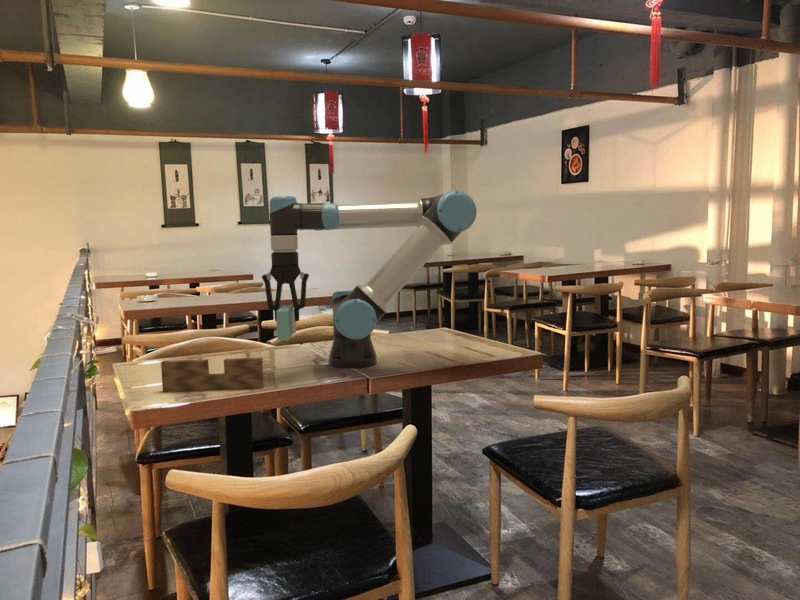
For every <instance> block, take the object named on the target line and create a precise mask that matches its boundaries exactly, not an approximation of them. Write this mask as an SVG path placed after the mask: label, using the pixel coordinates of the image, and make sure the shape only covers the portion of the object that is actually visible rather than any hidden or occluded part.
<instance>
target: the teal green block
mask: <svg viewBox="0 0 800 600" xmlns="http://www.w3.org/2000/svg"><path fill="white" fill-rule="evenodd" d="M292 310H294V306H293V304H290V305H289V304H288V305H287V304H286V305H285V304H284V305H281V306H280V308H279V309H278V310H277V311H276V318H277V322H276V335H277V336H276V337H277V338H276V339H277V341H278V342H280V341H284V342H285V341H289V340H290V339H291V338H292V336H293V335H294V333H292Z"/></svg>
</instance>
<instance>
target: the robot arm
mask: <svg viewBox="0 0 800 600" xmlns="http://www.w3.org/2000/svg"><path fill="white" fill-rule="evenodd" d="M268 215H269V229H270V231H269V232H270V250H271V251H273V252H271V256H270V257H271V269H270V270H269V272H267V273H265V274H262V276H261V279H262V281H263V283H264V287H265V296H266V304H267V308H268V310H270V309H271V310H273V311H274V320H275V321H274V322H276V323H277V318H276V311H277V310H278V309H279V308H280V307H281V302H282V301H281V298H282V293H283V292H282V290H283V286H284V284H287V285H289V289H290V295H291V300H292V305H293V310H292V333H293V334H296V332H297V326H296V325H297V323H296V322H299V320H300V310H301V309H304V308H305V306H306V299H307V282H308V279H309V277H310V273H306V272H304V271H301V269H300V267H299V252H297V250H298V249H299V244H298V241H299V240H298V239H299V238H298V230H299V231H305V230H306V231H309V230H310V231H323V230H324V231H331V230H347V229H349V230H353V229H354V230H355V229H374V228H375V229H377V228H379V229H380V228H383V229H384V228H407V227H411V228H412V227H416V230H414V232H413V233H411V235H410V236H409V237H408V238H407V239H406V240H405V242H403V244H402V245H401V246H400V247H398V249H397V250H396V251H395V252H394V253H393V254H392V255H391V256H390V257H389V259H387V261H386V262H385V263H384V264H383V265H382V266H381V267H380V268H379V269H378V270H377V271H376V272H375V274H374V275H373V276H372V277H371V278H370V279H369V280H368V281H366V283H364V284H357V285H356V286H355V288H353V289H352V290H339V291H335V292H333V293H332V295H331V297H332V298H331V304H332V323H333V324H332V327H333V341H332V344H331V348H330V352H329V355H328V365H329V366H330V367H335V368H341V369H342V368H343V369H357V368H365V367H372V366H373V365H375V364H377V362H378V360H377V359H378V358H377V353H376V349H375V347H374V345H373V341H372V338H371V337H372V336H371V335H372V332H373V331H374V329H375V328H376V326H377V324H378V322H379V321H380V320H381V319H382V318H383V317H384V316H385V314H387V312H388V310H387V308H388V307H387V306H388V304H389V303H390V302H391V301H392V300H393V298H394V297H396V295H397V294H398V293H399V292H400V291H401V290H402V289H403V288H404V287H405V286H406V285H407V283H409V281H411V279H412V278H413V277H414V276H415V275H416V274H417V273H418V271H420V270H421V269H422V267H423V266H424V265H425V264H426V263H427V262H428V261H429V260H430V259H431V258H432V257H433V256H434V255H435V254H436V253H437V251H438V250H439V249H440V248H441V247H442V246H444V245H451V244H452V243H453V242H454V241H455V240H456V239H457V238H458V237H459V235H461V234H462V233H463V232H465V231H466V230H469V229H470V228H471V227H472V225H473V224H474V222H475V221H476V218H477V206H476V203H475V201H474V199H473V197H471V196H470V195H469V194H467V193H466V192H464V191H461V190H449V191H447V192H445V193H441V194H439V195H436V196H432V197H426V198H425V197H423V198H417V199H416V201H407V202H406V201H404V202H400V201H399V202H376V203H373V202H372V203H348V204H346V203H345V204H344V203H343V204H337V203H332V202H312V203H310V202H309V203H299V202H298V201H297V198H296V197H295V196H292V195H287V196H286V195H279V196H272V197H271V198H270V199H269V214H268ZM299 276H300V277H299ZM298 277H299V278H300V280H301V284H300V285H301V287H300V304H299V301H298V294H297V289H296V283H295V281H296V280H297V279H298ZM272 278H273V279H274V280H275V282H276V291H275V292H276V293H275V298H274V300H275V301H274V302H273V294H272V286H271V280H272Z"/></svg>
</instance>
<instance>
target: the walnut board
mask: <svg viewBox="0 0 800 600" xmlns="http://www.w3.org/2000/svg"><path fill="white" fill-rule="evenodd" d="M209 367H210V366H209V358H207V359H205V358H203V359H181V360H178V359H176V360H161V362H160V368H161V382H162V384H161V385H162V386H161V387H162V393H174V392H176V393H177V392H179V393H180V392H202V391H223V390H224V391H226V390H228V391H229V390H249V389H250V390H253V389H255V390H256V389H257V390H258V389H263V388H264V370H263V369H264V367H263V357H241V358H240V357H237V358H234V357H233V358H224V359H223V371H224V373H210V369H209Z"/></svg>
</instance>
